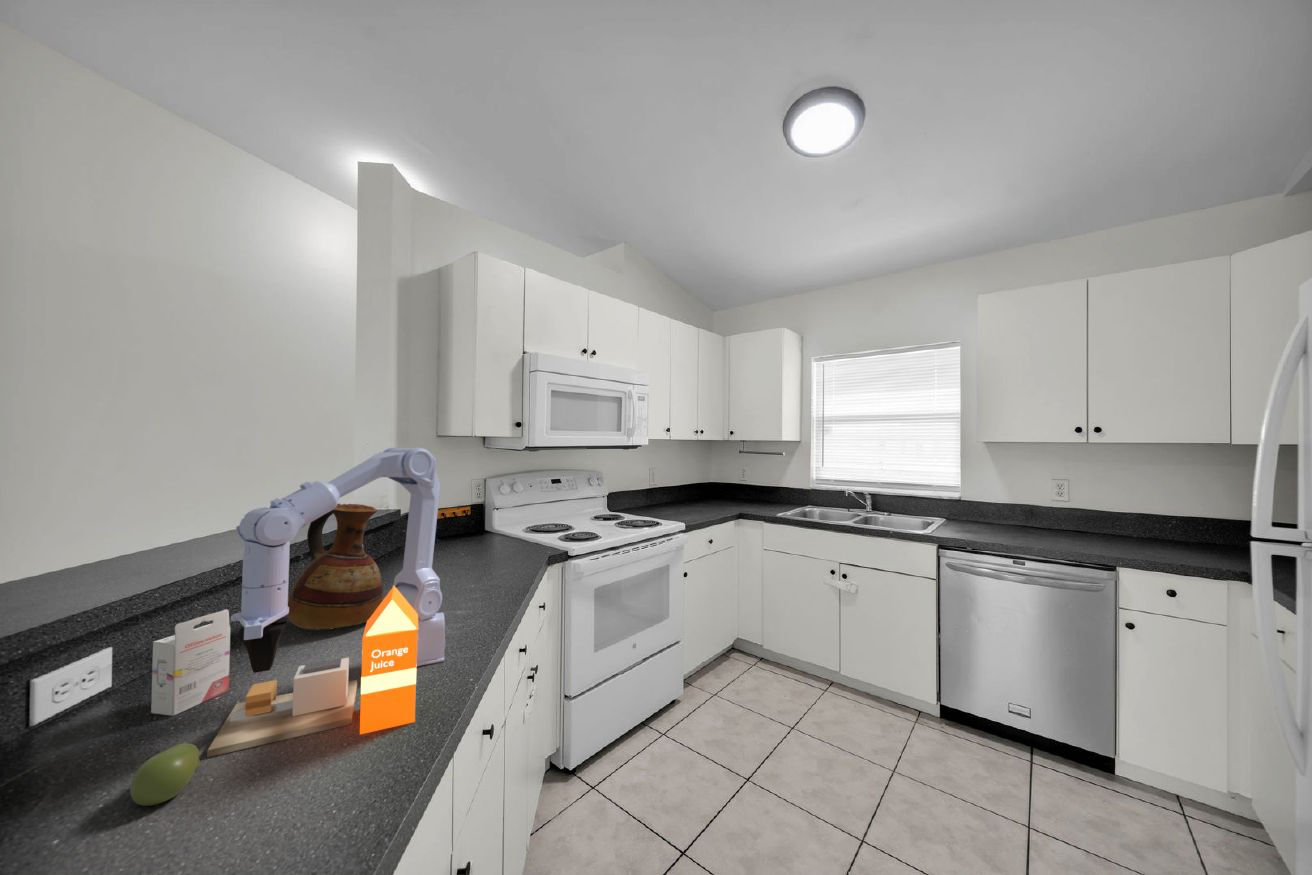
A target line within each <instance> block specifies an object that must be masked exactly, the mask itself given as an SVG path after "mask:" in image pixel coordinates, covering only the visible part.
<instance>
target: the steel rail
mask: <svg viewBox="0 0 1312 875" xmlns="http://www.w3.org/2000/svg"><path fill="white" fill-rule="evenodd" d="M348 695H349V689H348V690H347V696H346V703H347V701H348ZM288 715H293V700H291V701H287V702H282V703H277V704H272V705H271V711H270V712H267V713H262V714H257V715H252V716H247V717H245V710H242V711H237V712H235V713H234V714H233V716H232V718H231V719H230V721H229V728H232V727H237V726H241V725H246V724H251V723H255V722H260V721H265V720H269V719H274V718H279V717H284V716H288Z"/></svg>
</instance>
